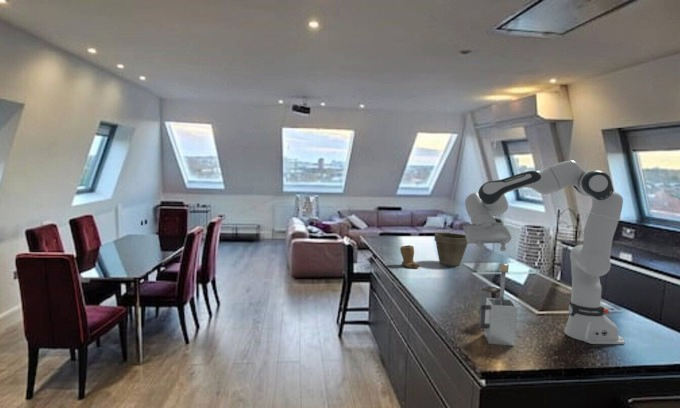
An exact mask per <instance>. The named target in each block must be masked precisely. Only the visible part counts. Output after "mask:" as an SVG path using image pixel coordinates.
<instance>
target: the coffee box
mask: <svg viewBox="0 0 680 408" xmlns="http://www.w3.org/2000/svg"><path fill="white" fill-rule="evenodd" d="M486 298H495V299H500V288H499V287H495V286H489V285H488V286H486V287H484V288H480V299H479V300H480V301H479V302H480V303H479V310H480V309H481V304H483V305H486ZM485 312H486V310H485ZM478 315H479V316H478V325H480V311H479V314H478ZM484 323H485V321H484Z"/></svg>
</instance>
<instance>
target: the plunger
mask: <svg viewBox="0 0 680 408" xmlns="http://www.w3.org/2000/svg"><path fill="white" fill-rule="evenodd" d="M498 265H499V266H498V272H499V273H500V300H499V305H500V306H503V302H504V299H505V284H506V274H507V273H509V267H510V265H509V264H507V263H503V262H502V263H499V264H498Z"/></svg>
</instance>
